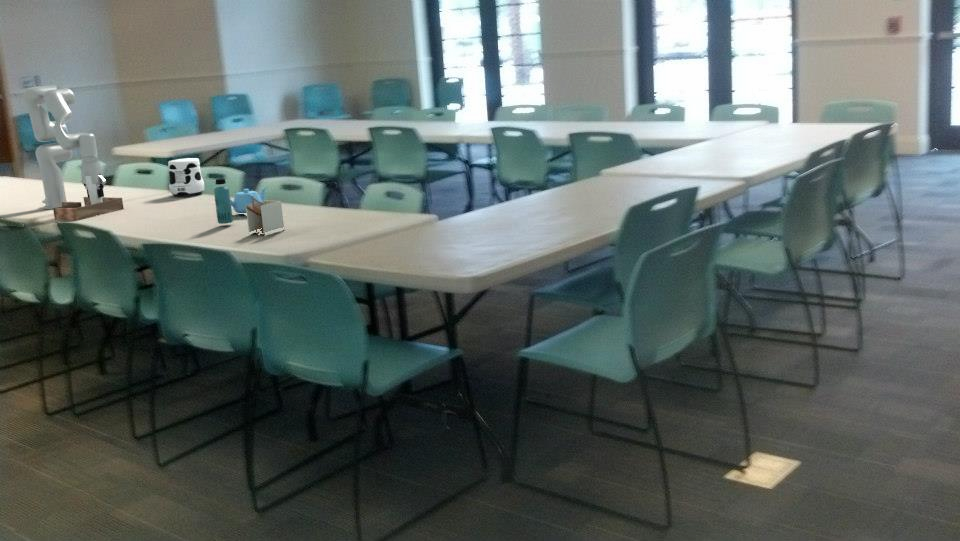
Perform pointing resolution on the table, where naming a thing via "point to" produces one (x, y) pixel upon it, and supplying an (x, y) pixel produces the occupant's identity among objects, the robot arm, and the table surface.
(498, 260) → the table surface
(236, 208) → the teapot
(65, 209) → the angular wooden frame
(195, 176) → the milk container
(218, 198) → the beverage bottle
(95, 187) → the white cup
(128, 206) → the table surface
